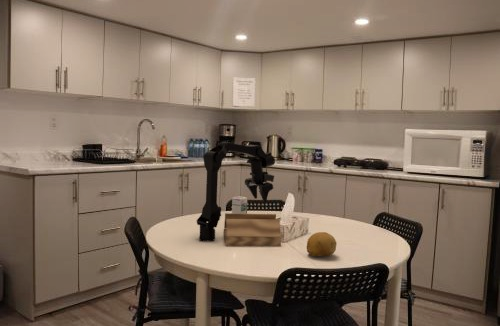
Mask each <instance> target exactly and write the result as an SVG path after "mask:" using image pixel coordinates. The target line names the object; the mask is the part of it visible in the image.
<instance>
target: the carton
mask: <svg viewBox="0 0 500 326" xmlns="http://www.w3.org/2000/svg"><path fill="white" fill-rule="evenodd" d="M223 240H224V243H225V247H281V246H282V245H281V244H282V236H281V237H227V228H223Z"/></svg>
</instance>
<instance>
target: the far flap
mask: <svg viewBox="0 0 500 326" xmlns="http://www.w3.org/2000/svg"><path fill="white" fill-rule="evenodd" d="M226 219H277V214H276V213H247V214H236V213H232V212H231V213H226V212H225V213H224V223H223V229H227V225H226Z"/></svg>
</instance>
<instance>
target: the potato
mask: <svg viewBox="0 0 500 326" xmlns="http://www.w3.org/2000/svg"><path fill="white" fill-rule="evenodd" d="M336 250H337V241H336V239H335V237H334V236H333V235H332V234H331V233H328V232H323V231H321V232H320V231H319V232H315V233H313V234H311V235H310V236H309V238H308V239H307V243H306V252H307V253H308V254H309V255H310V256H312V257H320V256H321V257H330V256H332V255H333V254H335V252H336Z"/></svg>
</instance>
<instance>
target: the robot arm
mask: <svg viewBox="0 0 500 326" xmlns="http://www.w3.org/2000/svg"><path fill="white" fill-rule="evenodd" d="M228 152H233V153H240V154H244V155H245V156H247V157H249V158H248V159H247V160H246V164H250V172H249V175H250V176H251V177H248V178H245V179H244V186H246V187H247V188H248V191H249V192H250V193H251V195H252V197H253V198H254V199H255V200H256V199H258V192H259V195H260V196H261V197H260V198H261V199H262V201H263V203H264V204H265V203H267V201H268V196H269V193H270V192H271V191H272V190H274V184H272V183H273V182H274V180H275V175H273V174H271V173H268V171H264V170H263V169H265V168H269V167H272V166H274V165H275V163H276V159H275V157H274V156H273V155H272V152H265V151H264V149H263V147H262V146H261V145H256V144H245V145H243V144H237V143H231V142H229V141H221V142H220V143H219V144H217V145H215V146H214V147H212V148H210V150H208V151H206V152H205V153H204V154H203V166H204V167H205V169H206V186H205V187H206V188H205V189H206V191H205V203H204V205H203V207H202V210H201V215H200V216H198V218H197V219H196V224H197V225H198V226H199V236H198V239H199V242H214V241H215V240H216V228H217V227H218V224H219V221H220V219H221V217H222V214H221V213H222V207H221V206H218V203H217V202H218V178H219V175H218V173H219V170H220V168H221V167H222V162H223V160H224V159H226V157H227V155H228Z"/></svg>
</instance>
